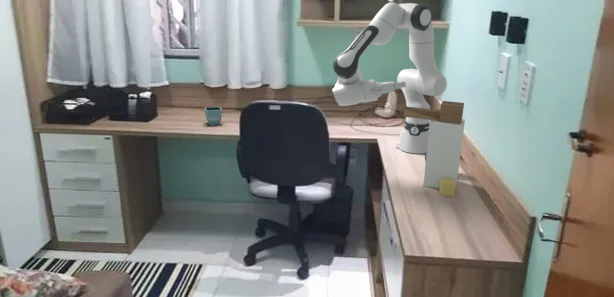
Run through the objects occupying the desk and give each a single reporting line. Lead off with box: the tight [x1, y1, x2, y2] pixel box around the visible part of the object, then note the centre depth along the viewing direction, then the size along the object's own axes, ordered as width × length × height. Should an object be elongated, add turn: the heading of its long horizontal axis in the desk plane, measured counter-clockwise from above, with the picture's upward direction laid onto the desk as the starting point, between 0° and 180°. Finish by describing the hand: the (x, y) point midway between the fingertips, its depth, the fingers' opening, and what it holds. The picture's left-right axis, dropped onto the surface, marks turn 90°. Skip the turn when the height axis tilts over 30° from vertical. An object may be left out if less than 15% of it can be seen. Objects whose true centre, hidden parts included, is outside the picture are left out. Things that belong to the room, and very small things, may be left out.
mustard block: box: [438, 179, 457, 197], centre depth 191 cm, size 5×5×5 cm
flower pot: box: [204, 106, 223, 126], centre depth 279 cm, size 9×9×9 cm
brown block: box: [403, 100, 465, 124], centre depth 195 cm, size 7×22×7 cm, turn 69°
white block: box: [423, 118, 466, 189], centre depth 198 cm, size 12×12×26 cm
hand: (405, 84), depth 202 cm, fingers open, 8 cm apart
